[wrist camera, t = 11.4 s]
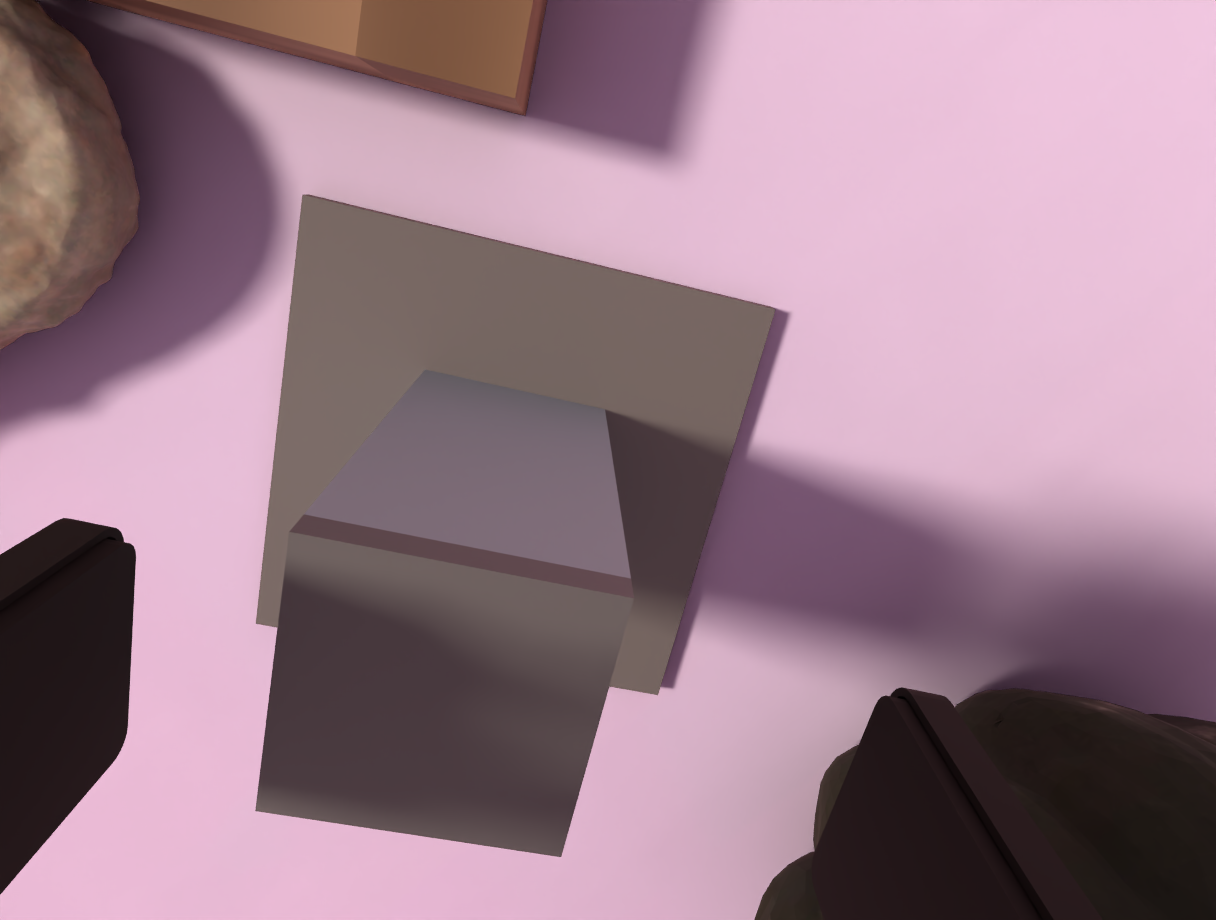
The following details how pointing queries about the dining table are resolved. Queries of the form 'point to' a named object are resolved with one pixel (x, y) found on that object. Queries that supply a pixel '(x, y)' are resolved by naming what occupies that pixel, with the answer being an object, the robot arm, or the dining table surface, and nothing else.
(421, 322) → the coaster
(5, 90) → the brown bread loaf
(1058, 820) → the squash
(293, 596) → the plug
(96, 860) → the dining table surface
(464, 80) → the socket block
